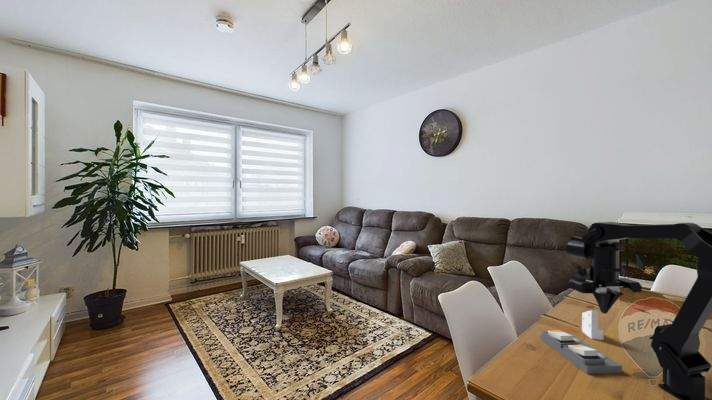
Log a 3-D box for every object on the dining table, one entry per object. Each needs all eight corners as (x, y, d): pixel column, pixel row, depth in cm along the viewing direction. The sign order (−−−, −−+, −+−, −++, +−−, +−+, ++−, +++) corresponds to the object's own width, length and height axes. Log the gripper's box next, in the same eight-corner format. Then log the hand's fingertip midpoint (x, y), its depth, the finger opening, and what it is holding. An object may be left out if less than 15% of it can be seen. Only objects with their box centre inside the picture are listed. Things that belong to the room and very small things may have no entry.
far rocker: (573, 340, 92) (572, 335, 92) (561, 340, 92) (560, 335, 92) (559, 334, 98) (559, 330, 98) (548, 335, 98) (547, 330, 98)
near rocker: (598, 355, 83) (597, 349, 83) (584, 356, 83) (583, 350, 83) (581, 349, 89) (580, 344, 89) (568, 350, 88) (567, 344, 89)
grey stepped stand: (621, 372, 81) (622, 361, 81) (587, 373, 81) (587, 362, 81) (569, 338, 100) (569, 329, 100) (540, 339, 100) (540, 330, 100)
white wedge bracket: (599, 337, 96) (591, 309, 100) (584, 339, 104) (577, 314, 108) (612, 338, 95) (603, 310, 99) (595, 340, 103) (588, 314, 108)
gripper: (609, 256, 98) (609, 302, 98) (556, 257, 97) (555, 303, 98) (643, 264, 87) (643, 316, 87) (583, 265, 86) (582, 318, 86)
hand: (603, 313), depth 90 cm, fingers closed
